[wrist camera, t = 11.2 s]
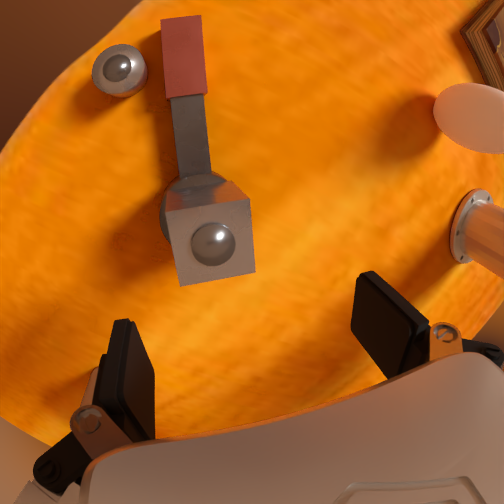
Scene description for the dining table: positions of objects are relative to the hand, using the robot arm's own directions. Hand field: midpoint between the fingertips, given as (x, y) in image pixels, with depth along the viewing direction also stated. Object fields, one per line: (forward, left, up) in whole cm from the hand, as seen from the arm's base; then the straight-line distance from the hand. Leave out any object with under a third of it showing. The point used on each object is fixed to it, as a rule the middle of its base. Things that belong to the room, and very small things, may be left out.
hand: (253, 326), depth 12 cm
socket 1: (+6, -13, -17) cm, 22 cm away
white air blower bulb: (-29, -9, -18) cm, 36 cm away
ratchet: (+1, -7, -17) cm, 19 cm away
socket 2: (0, 0, -14) cm, 14 cm away
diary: (-51, -23, -18) cm, 59 cm away
